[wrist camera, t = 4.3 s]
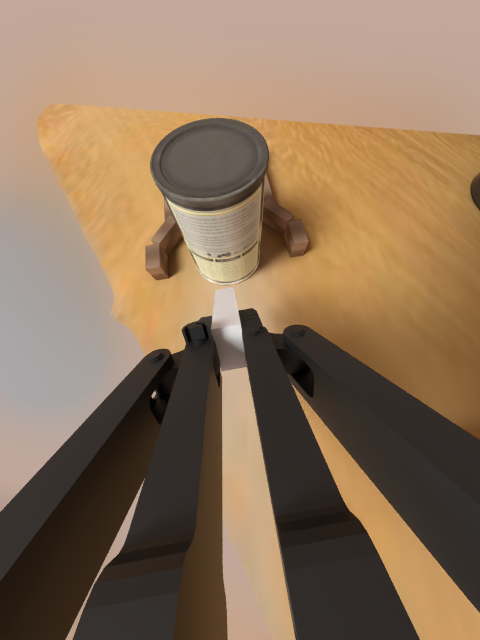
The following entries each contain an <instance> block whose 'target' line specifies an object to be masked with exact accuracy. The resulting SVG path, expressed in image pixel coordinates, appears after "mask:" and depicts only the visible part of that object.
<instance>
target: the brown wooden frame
mask: <svg viewBox="0 0 480 640" xmlns="http://www.w3.org/2000/svg"><path fill="white" fill-rule="evenodd" d="M164 211H165V222H164V223H163V224H162V226H161V227H160V228H159V230H158V231H157V232H156V233H155V235H154V236H153V237H152V238H151V241H152V242H153V245H148V246H146V270H147V271H148V272H149V273H150V274H151V275H152V277H153V278H154V279H155V280H160V279H166V278H169V272H168V256H169V254H170V253H171V252H172V250H173V249H174V248H175V246H176V245H177V243H178V242H179V241H180V239H181V238H182V237H183V236H182V234H181V232H180V230H179V228H178V226H177V224H176V222H175V220H174V217H173V215H172V213H171V211H170V209H169V207H168V205H167V203H166V201H165V199H164ZM293 218H294V215H293V214H292V213H290V212H289V211H287V210H286V209H284V208H282V207H281V206H279V205H278V204H276V203H275V201H274V198H273V194H272V191H271V188H270V184H269V181H268V177H267V174H266V177H265V191H264V204H263V218H262V222H263V223H265V224H266V225H268V226H269V227H270V228H272V229H273V230H275V231H276V232H278V233H279V234H281V235H282V236H283V237H284V238H285V242H286V245H287V249H288V252H289V255H290V257H296V256H301V255H303V254H304V251H305V249H306V247H307V244H308V242H309V241H308V238H307V235H306V232H305V229H304V226H303V223H302V220H301V219H300V220H295V221H293Z"/></svg>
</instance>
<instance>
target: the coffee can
mask: <svg viewBox="0 0 480 640" xmlns="http://www.w3.org/2000/svg"><path fill="white" fill-rule="evenodd" d="M268 159H269V150H268V146H267V143H266V141H265V139H264V137H263V136H262V135H261V134H260V133H259V132H258V131H257V130H256V129H255V128H253V127H251V126H250V125H248V124H246V123H243V122H240V121H237V120H233V119H225V118H211V119H202V120H198V121H194V122H191V123H188V124H185V125H183V126H181V127H179V128H177V129H175V130H173V131H172V132H171V133H169V134H168V135H167V136H165V137H164V138H163V139H162V140H161V141H160V142H159V144H158V145H157V147H156V148H155V150H154V152H153V154H152V157H151V162H150V169H151V174H152V177H153V179H154V181H155V183H156V185H157V187H158V188H159V189H160V191H161V192H162V194H163V196H164V199H165V201H166V203H167V205H168V207H169V209H170V211H171V213H172V215H173V217H174V220H175V222H176V224H177V226H178V228H179V230H180V232H181V234H182V236H183V238H184V240H185V242H186V244H187V246H188V249H189V251H190V253H191V255H192V257H193V259H194V261H195V263H196V266H197V269H198V271H199V272H200V274H201V275H202V276H203V277H204V278H205V279H207V280H208V281H210V282H212V283H215V284H218V285H234V284H237V283H240V282H242V281H244V280H246V279H247V278H249V277H250V276H251V275H252V274H253V273H254V272H255V270H256V269H257V267H258V265H259V261H260V244H261V231H262V218H263V204H264V191H265V177H266V171H267V167H268Z"/></svg>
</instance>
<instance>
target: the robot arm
mask: <svg viewBox="0 0 480 640" xmlns="http://www.w3.org/2000/svg"><path fill="white" fill-rule="evenodd" d="M471 193H472V197H473V199H474V201H475V203H476V204H477V206H478V207H479V208H480V173H479V174H477V175H476V177H475V178H474V179H473V181H472V185H471ZM182 333H183V336H184V339H185V341H186V346H185V349H184V350H182V351H180V352H177V353H174V354H172V355H171V352H170V351H169V350H168V349H158V350H156V351H152V352H151V353H149V354H148V355H146V356H145V357H144V358H143V359H142V360H141V362H139V364H138V365H137V366H136V367H135V368H134V369H133V370H132V371H131V372H130V373H129V374H128V376H126V378H125V379H124V380H123V381H122V382H121V383H120V384H119V385H118V386H117V387H116V388H115V389H114V390H113V392H112V393H111V394H110V395H109V396H108V397H107V398H106V399H105V400H104V401H103V402H102V403H101V404H100V405H99V407H98V408H97V409H96V410H95V411H94V412H93V413H92V414H91V415H90V416H89V417H88V419H86V421H85V422H84V423H83V424H82V425H81V426H80V427H79V428H78V429H77V430H76V431H75V432H74V433H73V435H72V436H71V437H70V438H69V439H68V440H67V441H66V442H65V443H64V444H63V446H62V447H61V448H60V449H59V450H58V451H57V452H56V453H55V454H54V455H53V456H52V457H51V458H50V459H49V460H48V461H47V463H46V464H45V465H44V466H43V467H42V468H41V469H40V470H39V471H38V472H37V473H36V475H34V477H33V478H32V479H31V480H30V481H29V482H28V483H27V484H26V485H25V486H24V487H23V488H22V490H21V491H20V492H19V493H18V494H17V495H16V496H15V497H14V498H13V499H12V500H11V501H10V502H9V504H7V506H6V507H5V508H4V509H3V510H2V511H1V512H0V640H65V639H66V637H67V635H68V633H69V631H70V629H71V627H72V625H73V623H74V621H75V619H76V617H77V615H78V612H79V611H80V609H81V607H82V605H83V602H84V601H85V598H86V596H87V594H88V592H89V590H90V588H91V586H92V584H93V582H94V580H95V578H96V576H97V574H98V572H99V570H100V568H101V566H102V564H103V562H104V560H105V558H106V556H107V554H108V552H109V550H110V548H111V546H112V543H113V542H114V540H115V537H116V535H117V533H118V531H119V529H120V527H121V525H122V523H123V521H124V519H125V517H126V515H127V513H128V511H129V509H130V507H131V505H132V503H133V501H134V499H135V497H136V495H137V493H138V491H139V489H140V487H141V484H142V483H143V481H144V483H143V487H142V490H141V493H140V496H139V499H138V503H137V506H136V509H135V513H134V516H133V519H132V523H131V526H130V529H129V532H128V535H127V538H126V541H125V543H124V546H123V548H122V549H121V551H120V553H119V554H118V555H117V556H116V557H115V558H114V559H113V560H112V561H111V562H110V563H109V564H108V565H107V566H106V567H105V568H104V569H103V571H102V573H101V574H100V576H99V578H98V579H97V581H96V583H95V584H94V586H93V589H92V591H91V593H90V596H89V598H88V600H87V603H86V605H85V607H84V610H83V612H82V615H81V618H80V621H79V623H78V626H77V629H76V632H75V634H74V637H73V640H227V610H226V597H225V589H224V582H223V565H222V376H221V372H220V367H221V371H225V370H231V369H237V368H242V367H247V368H248V374H249V380H250V385H251V391H252V397H253V402H254V408H255V413H256V419H257V425H258V430H259V436H260V441H261V447H262V453H263V458H264V464H265V469H266V475H267V481H268V486H269V492H270V497H271V503H272V509H273V514H274V520H275V525H276V531H277V537H278V542H279V548H280V553H281V559H282V565H283V570H284V576H285V582H286V588H287V593H288V599H289V605H290V610H291V616H292V622H293V627H294V633H295V638H296V640H420V639H419V637H418V635H417V633H416V631H415V629H414V627H413V624H412V622H411V620H410V618H409V616H408V614H407V612H406V610H405V608H404V606H403V604H402V602H401V599H400V597H399V595H398V593H397V591H396V589H395V587H394V585H393V583H392V581H391V579H390V577H389V574H388V572H387V570H386V568H385V566H384V564H383V562H382V560H381V558H380V556H379V554H378V552H377V550H376V548H375V546H374V544H373V542H372V540H371V538H370V536H369V535H368V533H367V531H366V530H365V528H364V527H363V525H362V524H361V522H360V521H359V519H358V518H357V517H356V516H355V515H354V514H352V513H351V512H350V511H349V509H348V508H347V506H346V505H345V503H344V501H343V499H342V497H341V495H340V492H339V490H338V488H337V486H336V483H335V481H334V479H333V477H332V474H331V472H330V470H329V468H328V465H327V463H326V461H325V459H324V456H323V454H322V452H321V450H320V447H319V445H318V443H317V441H316V438H315V436H314V434H313V432H312V429H311V427H310V425H309V423H308V420H307V418H306V416H305V414H304V411H303V409H302V407H301V405H300V402H299V400H298V398H297V396H296V393H295V391H294V389H293V387H292V384H293V385H294V387H295V388H296V389H297V390H298V392H299V393H300V394H301V395H302V396H303V398H304V399H305V400H306V401H307V403H308V404H309V405H310V406H311V407H312V409H313V410H314V411H315V412H316V414H317V415H318V416H319V417H320V418H321V420H322V421H323V422H324V423H325V425H326V426H327V427H328V428H329V429H330V431H331V432H332V433H333V434H334V436H335V437H336V438H337V439H338V440H339V442H340V443H341V444H342V445H343V447H344V448H345V449H346V450H347V451H348V453H349V454H350V455H351V456H352V458H353V459H354V460H355V461H356V462H357V464H358V465H359V466H360V467H361V469H362V470H363V471H364V472H365V473H366V475H367V476H368V477H369V478H370V480H371V481H372V482H373V483H374V484H375V486H376V487H377V488H378V489H379V491H380V492H381V493H382V494H383V495H384V497H385V498H386V499H387V500H388V502H389V503H390V504H391V505H392V506H393V508H394V509H395V510H396V511H397V513H398V514H399V515H400V516H401V517H402V519H403V520H404V521H405V522H406V524H407V525H408V526H409V527H410V528H411V530H412V531H413V532H414V533H415V535H416V536H417V537H418V538H419V539H420V541H421V542H422V543H423V544H424V546H425V547H426V548H427V549H428V550H429V552H430V553H431V554H432V555H433V557H434V558H435V559H436V560H437V562H438V563H439V564H440V565H441V566H442V568H443V569H444V570H445V571H446V573H447V574H448V575H449V576H450V577H451V579H452V580H453V581H454V582H455V584H456V585H457V586H458V587H459V588H460V590H461V591H462V592H463V593H464V595H465V596H466V597H467V598H468V599H469V601H470V602H471V603H472V604H473V605H474V607H475V608H476V609H477V610H478V611H479V612H480V440H478V439H477V438H475V437H474V436H472V435H471V434H469V433H468V432H466V431H465V430H463V429H462V428H460V427H459V426H457V425H456V424H454V423H453V422H451V421H449V420H448V419H446V418H445V417H443V416H442V415H440V414H439V413H437V412H436V411H434V410H433V409H431V408H430V407H428V406H427V405H425V404H424V403H422V402H421V401H419V400H418V399H416V398H415V397H413V396H412V395H410V394H409V393H407V392H406V391H404V390H403V389H401V388H400V387H398V386H397V385H395V384H394V383H392V382H390V381H389V380H387V379H386V378H384V377H383V376H381V375H380V374H378V373H377V372H375V371H374V370H372V369H371V368H369V367H368V366H366V365H365V364H363V363H362V362H360V361H359V360H357V359H356V358H354V357H353V356H351V355H350V354H348V353H347V352H345V351H344V350H342V349H341V348H339V347H338V346H336V345H335V344H333V343H332V342H330V341H328V340H327V339H325V338H324V337H322V336H321V335H319V334H318V333H316V332H315V331H313V330H312V329H310V328H309V327H306V326H303V325H292V326H289V327H286V328H285V329H284V332H283V334H273V333H269V332H268V330H267V329H266V328H265V327H263V325H262V323H261V320H260V318H259V316H258V313H257V311H256V310H254V309H253V308H251V309H245V310H239V311H238V308H237V303H236V298H235V292H234V287H232V288H226V289H220V290H215V298H214V307H213V316H208V317H202V318H201V319H200V320H199V321H196V322H192V323H190V324H187V325H186V326H184V327H183V329H182ZM291 383H292V384H291ZM154 391H155V392H156V395H155V397H154V398H152V397H151V396H152V394H153V392H154ZM145 476H146V477H145ZM144 479H145V480H144Z"/></svg>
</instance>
